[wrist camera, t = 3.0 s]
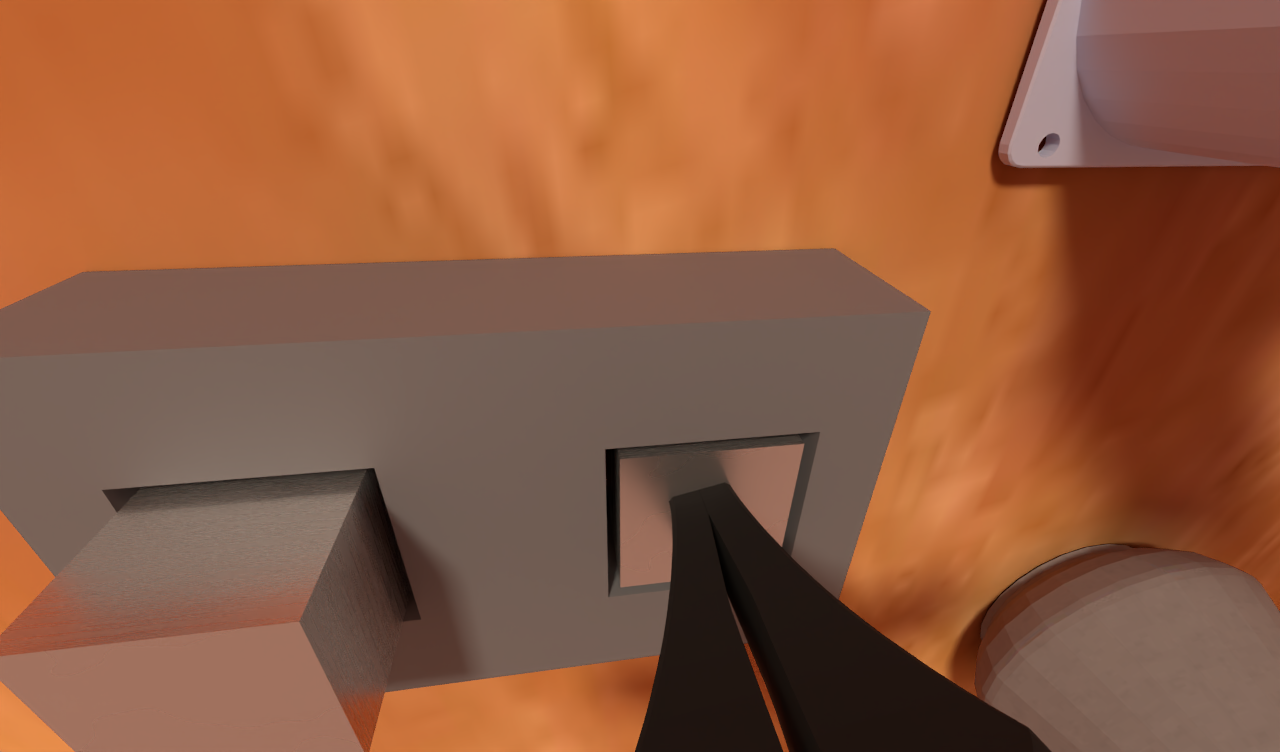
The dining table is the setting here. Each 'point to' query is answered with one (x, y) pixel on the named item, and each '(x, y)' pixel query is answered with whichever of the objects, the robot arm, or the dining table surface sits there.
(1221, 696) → the coffee pot
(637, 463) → the pink matte cube
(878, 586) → the dining table surface
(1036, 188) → the dining table surface
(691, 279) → the block
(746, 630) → the robot arm
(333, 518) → the greyish pink cube
